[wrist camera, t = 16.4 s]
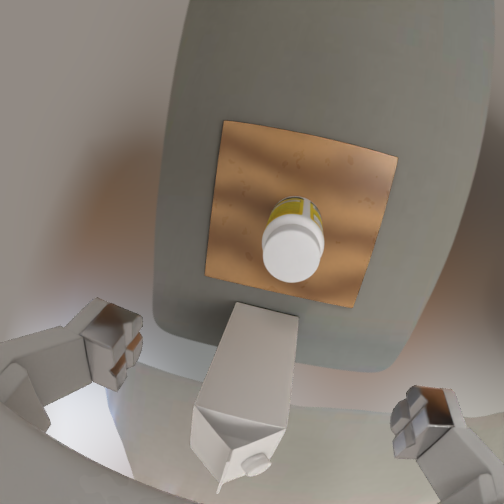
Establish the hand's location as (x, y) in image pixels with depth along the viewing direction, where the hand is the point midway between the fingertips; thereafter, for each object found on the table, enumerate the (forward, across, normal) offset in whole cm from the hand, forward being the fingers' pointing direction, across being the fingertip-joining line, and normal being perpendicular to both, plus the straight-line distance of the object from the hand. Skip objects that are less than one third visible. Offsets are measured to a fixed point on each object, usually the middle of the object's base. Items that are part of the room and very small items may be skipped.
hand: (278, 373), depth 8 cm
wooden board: (+22, 0, +3) cm, 22 cm away
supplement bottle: (+22, 0, +3) cm, 22 cm away
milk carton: (+22, 0, +17) cm, 28 cm away
